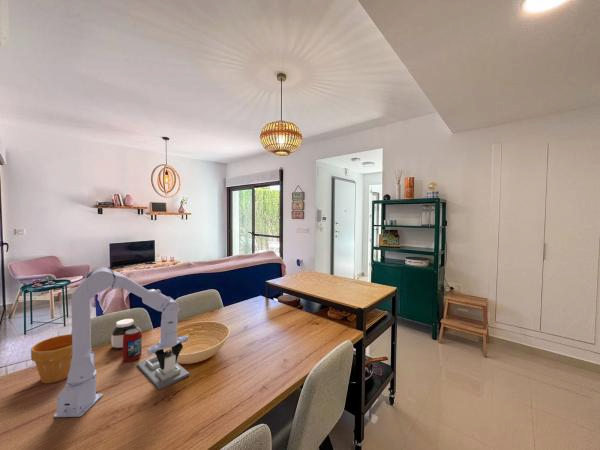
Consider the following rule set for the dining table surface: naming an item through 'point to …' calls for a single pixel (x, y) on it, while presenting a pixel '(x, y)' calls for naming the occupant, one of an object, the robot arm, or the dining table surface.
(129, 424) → the dining table surface
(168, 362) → the plug
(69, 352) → the flower pot
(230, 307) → the dining table surface
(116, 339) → the spread jar
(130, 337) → the beverage can
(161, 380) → the board
